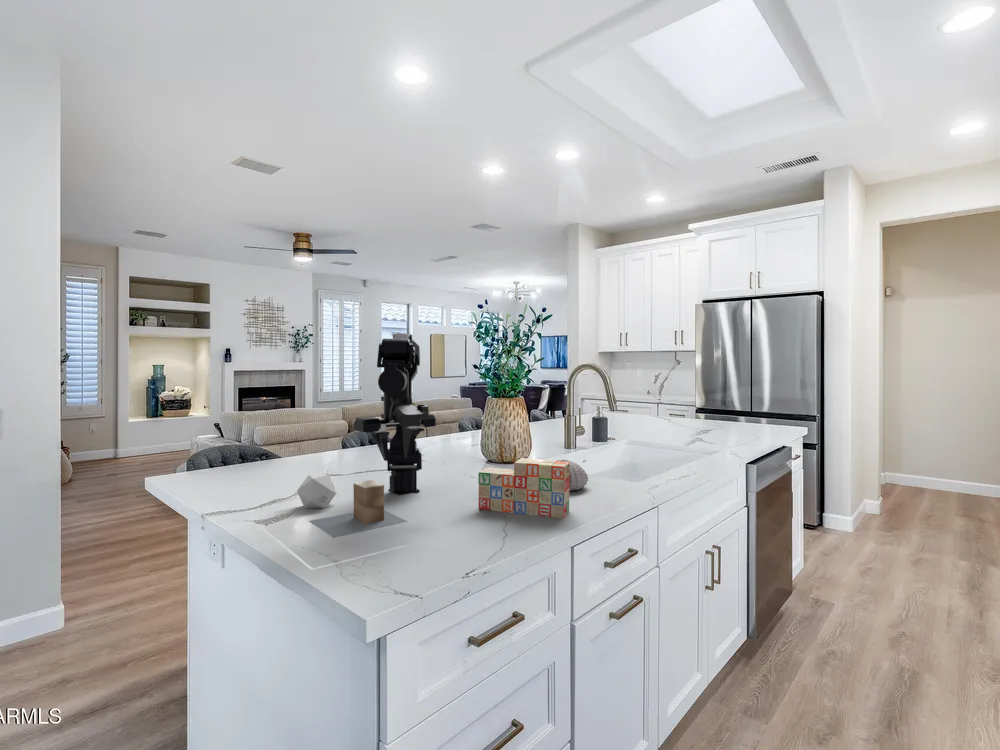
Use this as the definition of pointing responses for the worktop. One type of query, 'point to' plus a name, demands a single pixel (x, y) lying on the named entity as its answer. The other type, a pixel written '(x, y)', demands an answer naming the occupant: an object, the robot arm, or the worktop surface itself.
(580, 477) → the sea urchin shell
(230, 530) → the worktop surface
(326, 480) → the die
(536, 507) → the stack of blocks
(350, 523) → the rubber mat
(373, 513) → the wooden block
